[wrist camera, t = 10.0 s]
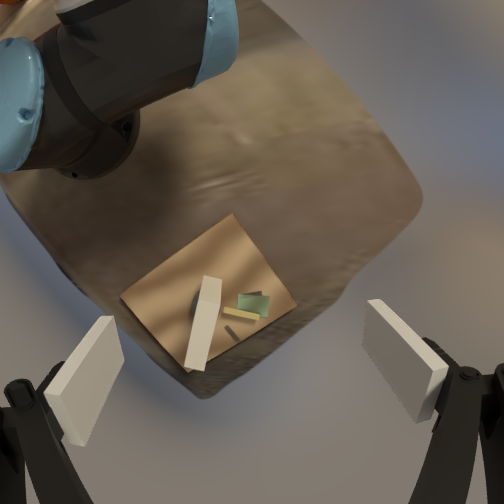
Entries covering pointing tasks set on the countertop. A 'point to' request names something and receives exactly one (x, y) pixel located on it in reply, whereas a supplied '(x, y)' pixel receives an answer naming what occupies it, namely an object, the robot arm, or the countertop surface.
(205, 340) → the cream piece
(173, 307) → the light wood flat board
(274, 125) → the countertop surface
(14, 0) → the apple
